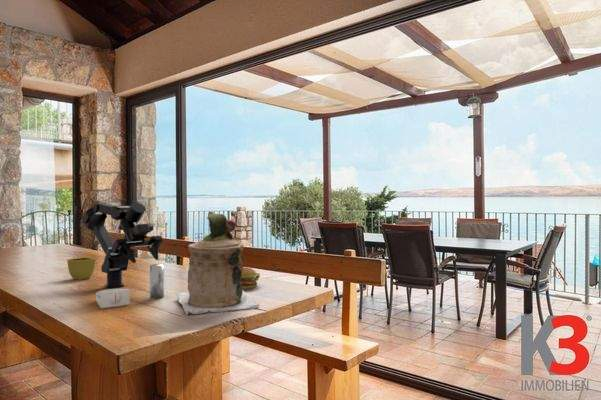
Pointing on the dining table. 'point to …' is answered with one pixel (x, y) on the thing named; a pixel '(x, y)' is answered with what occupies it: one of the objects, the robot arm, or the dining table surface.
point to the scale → (113, 297)
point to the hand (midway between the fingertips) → (146, 260)
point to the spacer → (156, 281)
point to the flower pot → (81, 267)
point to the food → (249, 278)
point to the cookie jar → (216, 272)
